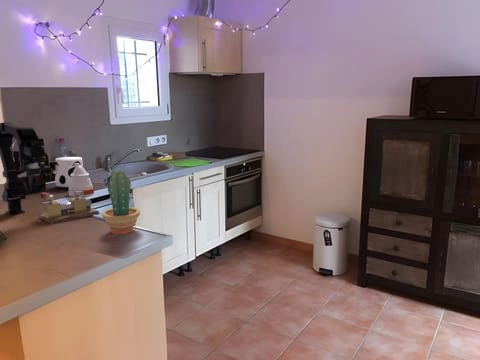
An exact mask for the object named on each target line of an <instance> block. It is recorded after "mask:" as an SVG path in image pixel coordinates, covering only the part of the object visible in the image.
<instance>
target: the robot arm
mask: <svg viewBox="0 0 480 360" xmlns="http://www.w3.org/2000/svg"><path fill="white" fill-rule="evenodd" d="M13 139H15V140H16V142H17V143H16V146H17V147H18V161H19V170H16V165H15V161H14V158H13V154H12V151H11V150H12V149H11V147H12V145H13V142H14V141H13ZM44 154H45V150H44V147H43V146H42V145H41V144H40V138H39V135H38V134H37V133H36V130H35V129H34V128H33V127H32V126H20V125H17V124H15V123H13V122H9V121H8V122H0V160H1V164H2V168H3V171H2V177H3V178H5V183H4V186H3V188H4V190H3V192H2V194H1V198H2V201H3V202H5V203H6V204H7V210H6V211H5V213H6V214H8V215H9V216H10V215H16V214H21V213H22V214H23V213H26V211H25V210H24V209H23V203H22V200H25V199H27V192H33V189H34V186H35V182H36V181H37V179H38V178H39V177H41V175H40V174H41V173H44V174H45V175H49V174H53V168H52V166H48V165H45V163H44V162H37V160H36V159H39V158H41V157H43V156H44ZM27 175H28V176H27Z"/></svg>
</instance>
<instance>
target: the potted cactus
mask: <svg viewBox="0 0 480 360" xmlns="http://www.w3.org/2000/svg"><path fill="white" fill-rule="evenodd" d="M131 183H132V181H131V179H130V177H129V176H128V174H127V173H126V171H124V170H123V169H122V170H112V172H110V173H107V174H106V175H105V177H103V180H102V186H103V189H106V188H107V192H108V194H109V196H110V197H111V200H110V202H111V201H112V202H111V207H112V208H107V209H106V210H103V211H101V217H102V219H104V221H105V223H106V225H107V226H108V228H109V229H111V230H110V232H111V233H112V234H116V235H123V234H124V233H125V234H128V233H132V231H134V226H135V225H136V223H137V221H138V218H139V216H140V215H141V209H139V208H136V207H130V201H129V196H130V194H131V188H132V184H131Z"/></svg>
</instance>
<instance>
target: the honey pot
mask: <svg viewBox="0 0 480 360" xmlns="http://www.w3.org/2000/svg"><path fill="white" fill-rule="evenodd" d="M75 166H76V168H75V169H74V171H73V174H71V175H70V176H71V180H70V183H69V186H68V187H69V188H68V196H69V197H71V198H75V196H74V191H81V190H85V189H91V188H92V189H94V187H93V183H92V182H91V178H90V177H89V175H90V174H89V172H87V171H86V169H85V168H84V166H83V167H82V166H80V165H79V164H78V163H77V164H75ZM92 195H93V194H89V195H80V196H79V197H82V198H84V197H87V196H88V197H89V196H92Z"/></svg>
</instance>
